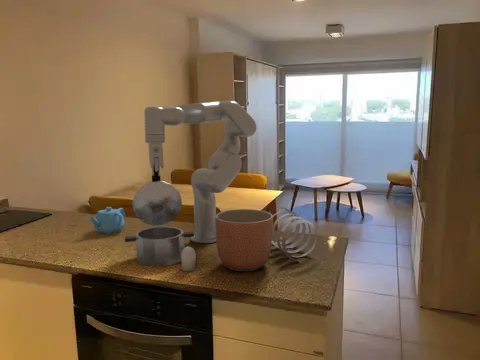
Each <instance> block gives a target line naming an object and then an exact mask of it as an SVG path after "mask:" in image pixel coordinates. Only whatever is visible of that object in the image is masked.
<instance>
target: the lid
mask: <svg viewBox="0 0 480 360" xmlns="http://www.w3.org/2000/svg"><path fill="white" fill-rule="evenodd" d="M182 200H183V199H182V196H181V194H180V191H179V190H178V189H177V188H176V186H174V185H173V184H171V183H170V182H167V181H163V180H160V181H153V182H152V181H149V182H146V183H145V184H143V185H141V186H140V187H138V189H137V190H136V192H135V193H134V196H133V199H132V209H133V212H134V214H135V216H136V217H137V219H138V220H140V221H141V222H142V223H145V224H146V225H149V226H150V225H151V226H164V225H166V224H168V223H170V222H172V221H173V220H175V219H176V218H177V217H178V215H179V213H180V212H181V209H182V206H183V205H182V203H183V201H182Z"/></svg>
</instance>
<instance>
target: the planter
mask: <svg viewBox="0 0 480 360" xmlns="http://www.w3.org/2000/svg"><path fill="white" fill-rule="evenodd" d="M273 215H274V214H272V213H271V212H268V211H265V210H261V209H260V210H259V209H250V208H246V209H245V208H238V209H237V208H236V209H230V210H229V209H228V210H223V211H220V212H218V213H216V216H215V229H216V242H215V243H216V249H217V253H218V255H217V256H218V258H219V260H220V262H221V263H222V265H224V266H225V267H226V268H228V269H229V270H231V271H236V272H253V271H256V270H258V269H261V268H262V267H263V266H264V265H265V264H266V263H267V262H268V260H269V259H270V256H271V250H272V245H273V243H272V241H273V239H272V231H273V225H274V217H273Z"/></svg>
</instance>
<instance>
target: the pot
mask: <svg viewBox="0 0 480 360" xmlns="http://www.w3.org/2000/svg"><path fill="white" fill-rule="evenodd" d="M194 235H195V232H194V231H184V230H183V229H182V228H178V227H176V226H175V227H174V226H165V225H152V226H151V227H146V228H143V229H140V230H138V231H136V232H135V235H132V236H131V235H129V236H128V235H127V236H124V242H125V243H129V242H135V249H136V251H135V252H136V263H139V264H140V265H143V266H147V267H163V266H171V265H174V264H179V263H180V262H182V260H181V252H182V250H183V249H184V248H185V238H191V237H194Z"/></svg>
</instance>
